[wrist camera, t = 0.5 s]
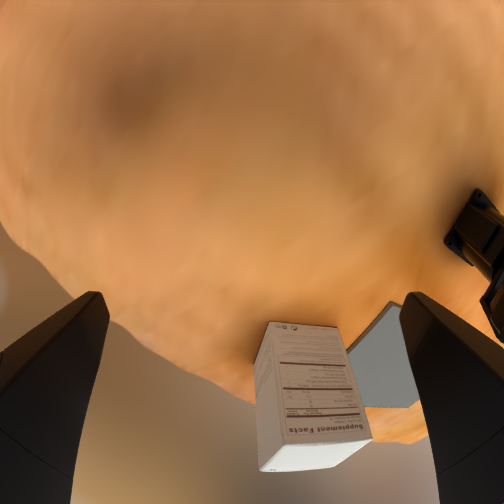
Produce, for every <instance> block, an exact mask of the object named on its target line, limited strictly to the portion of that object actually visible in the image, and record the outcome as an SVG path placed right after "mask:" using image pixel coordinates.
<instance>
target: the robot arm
mask: <svg viewBox="0 0 504 504" xmlns="http://www.w3.org/2000/svg"><path fill="white" fill-rule="evenodd" d="M449 241H450V242H449ZM444 244H445V245H446V246H447V247H448V248H449V249H450V250H452V251H453V252H454V253H456V254H457V255H458V256H460V257H461V258H462V259H463V260H465V261H466V262H467V263H468V264H470V265H471V266H475V267H476V268H477V269H478V270H479V271H480V272H481V273H482V274H483V275H484V277H485V278H486V279H487V280H488V281H489V282H490V285H489V287H488V289H487V290H486V292H485V294H484V295H483V296H482V297H481V299H480V300H479V301H480V303H481V305H482V307H483V310H484V312H485V314H486V316H487V318H488V320H489V322H490V324H491V327H492V329H493V331H494V333H495V336H496V337H497V338H498V339H499V341H500V342H501V343H504V216H503V215H502V214H500V213H499V211H498V210H497V209H496V207H495V206H494V205H493V204H492V202H491V201H490V200H489V199H488V197H487V196H486V195H485V194H484V193H483V192H482V191H481V190H480V189H476V190H475V191H474V193H473V195H472V197H471V198H470V200H469V202H468V204H467V205H466V207H465V209H464V210H463V212H462V214H461V215H460V217H459V219H458V220H457V222H456V223H455V225H454V226H453V228H452V230H451V231H450V233H449V234H448V236H447V237H446V239H445V241H444ZM109 320H110V315H109V311H108V308H107V306H106V303H105V300H104V297H103V295H102V293H101V292H98V291H88V292H86V293H84V294H83V295H81V296H80V297H78V298H77V299H75V300H74V301H72V302H71V303H69V304H68V305H66V306H65V307H63V308H62V309H60V310H59V311H58V312H56V313H55V314H53V315H52V316H50V317H49V318H47V319H46V320H44V321H43V322H42V323H40V324H39V325H37V326H36V327H35V328H33V329H32V330H30V331H29V332H27V333H26V334H25V335H23V336H22V337H21V338H19V339H18V340H16V341H15V342H14V343H12V344H11V345H10V346H8V347H7V348H6V349H4V351H2V352H0V504H70V500H71V492H72V485H73V476H74V470H75V464H76V458H77V453H78V448H79V443H80V438H81V433H82V428H83V424H84V420H85V416H86V411H87V408H88V404H89V400H90V396H91V393H92V389H93V385H94V382H95V379H96V375H97V372H98V368H99V365H100V361H101V356H102V351H103V347H104V342H105V337H106V333H107V329H108V324H109ZM399 321H400V325H401V329H402V333H403V338H404V342H405V346H406V351H407V356H408V360H409V363H410V367H411V370H412V374H413V377H414V380H415V384H416V387H417V390H418V394H419V398H420V401H421V405H422V409H423V413H424V417H425V421H426V425H427V429H428V434H429V438H430V443H431V448H432V453H433V458H434V464H435V470H436V474H437V475H436V477H437V484H438V491H439V500H440V504H504V349H503V347H501V346H500V345H498V344H497V343H496V342H494V341H493V340H492V339H490V338H489V337H487V336H486V335H485V334H483V333H482V332H480V331H479V330H477V329H476V328H475V327H473V326H472V325H470V324H469V323H467V322H466V321H464V320H463V319H461V318H460V317H458V316H457V315H456V314H454V313H453V312H451V311H450V310H448V309H447V308H445V307H444V306H442V305H440V304H439V303H437V302H436V301H434V300H433V299H431V298H430V297H428V296H427V295H425V294H423V293H422V292H410V293H408V294H407V296H406V298H405V301H404V303H403V306H402V308H401V310H400V314H399Z"/></svg>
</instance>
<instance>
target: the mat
mask: <svg viewBox="0 0 504 504" xmlns="http://www.w3.org/2000/svg"><path fill="white" fill-rule="evenodd" d="M401 308H402V306H400V305H398V304H395V303H393V302H390V303H389V304H388V305H387V306H386V308H385V309H384V310H383V311H382V312H381V313H380V315H379V316H378V317H377V318H376V319H375V320H374V321H373V323H372V324H371V325H370V326H369V327H368V328H367V329H366V330H365V331H364V333H363V334H362V335H361V336H360V337H359V338H358V339H357V340H356V341H355V342H354V343H353V344H352V345H351V346H350V347H349V349H348V350H347V351H346V352H347V355H348V358H349V361H350V364H351V367H352V370H353V373H354V376H355V379H356V383H357V386H358V389H359V392H360V396H361V399H362V402H363V406H364V407H378V408H409V407H410V406H411V405H413V404H414V403H415V402H417V401H418V400H419V399H420V398H419V394H418V390H417V387H416V384H415V380H414V377H413V374H412V370H411V367H410V363H409V360H408V356H407V351H406V346H405V342H404V338H403V333H402V329H401V325H400V321H399V314H400V310H401Z"/></svg>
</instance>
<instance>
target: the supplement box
mask: <svg viewBox="0 0 504 504" xmlns="http://www.w3.org/2000/svg"><path fill="white" fill-rule="evenodd" d="M254 380H255V399H256V419H257V438H258V457H259V470H260V471H268V472H269V471H270V472H281V471H299V470H311V469H320V468H321V469H322V468H329V467H334V466H336V465H337V464H339V463H340V462H341V461H343V460H344V459H346V458H347V457H348V456H350V455H351V454H353V453H354V452H356V451H357V450H359V449H360V448H361V447H363V446H364V445H365V444H367V443H368V442H369V441H371V440H372V439H373V437H372V434H371V430H370V427H369V423H368V419H367V416H366V413H365V409H364V406H363V402H362V399H361V396H360V392H359V389H358V386H357V383H356V379H355V376H354V373H353V370H352V367H351V364H350V361H349V358H348V355H347V352H346V349H345V346H344V343H343V340H342V338H341V335H340V332H339V329H338V328H334V327H322V326H312V325H302V324H292V323H282V322H269V324H268V327H267V330H266V332H265V335H264V338H263V341H262V344H261V347H260V349H259V352H258V355H257V358H256V361H255V364H254Z"/></svg>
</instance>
